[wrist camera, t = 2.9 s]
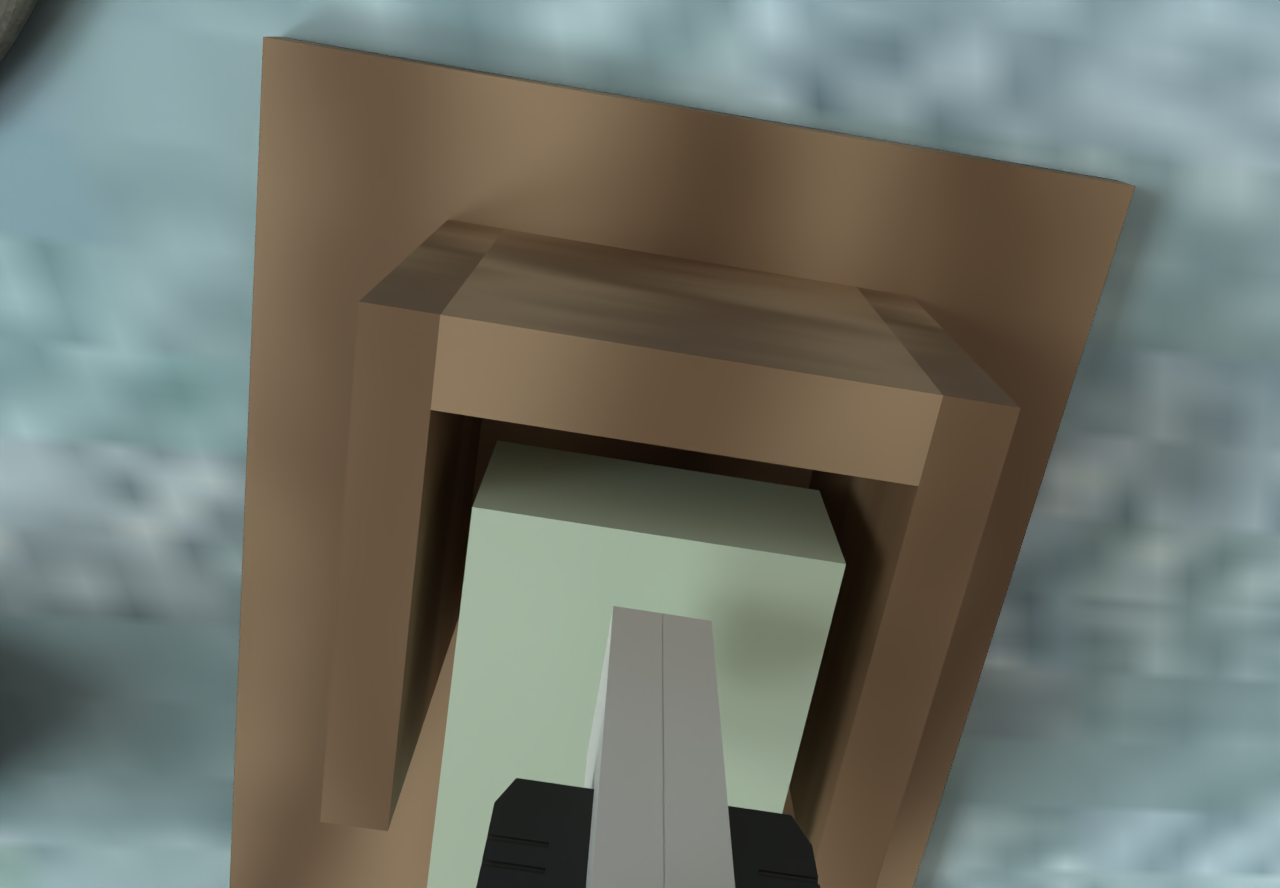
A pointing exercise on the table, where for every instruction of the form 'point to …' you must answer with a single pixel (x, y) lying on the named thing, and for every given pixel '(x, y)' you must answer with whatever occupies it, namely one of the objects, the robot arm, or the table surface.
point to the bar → (581, 614)
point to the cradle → (626, 413)
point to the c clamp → (13, 21)
